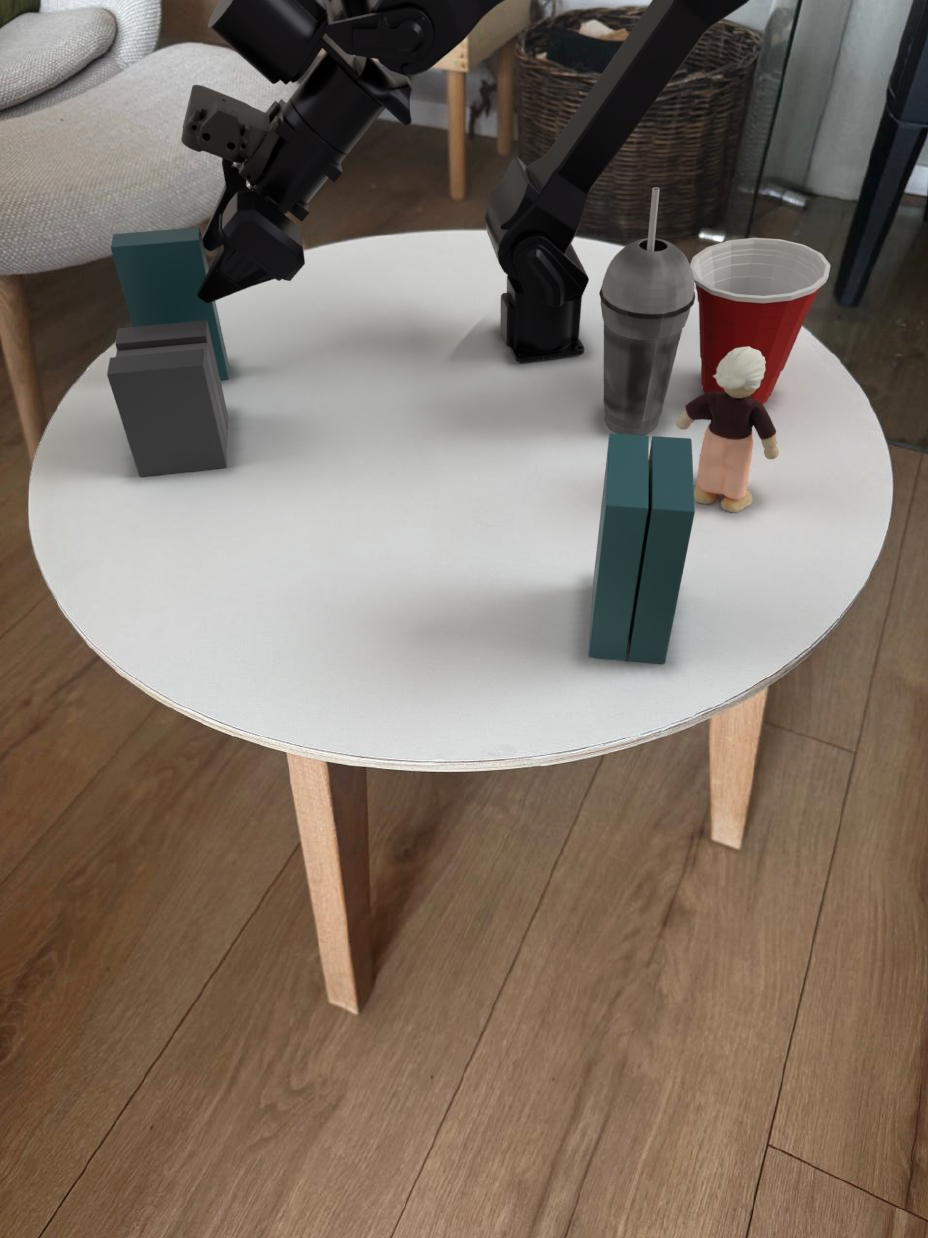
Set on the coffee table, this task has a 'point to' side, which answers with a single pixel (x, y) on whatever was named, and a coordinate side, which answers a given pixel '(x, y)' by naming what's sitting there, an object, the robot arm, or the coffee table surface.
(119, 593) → the coffee table surface
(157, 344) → the grey books
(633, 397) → the beverage cup
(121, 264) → the teal book
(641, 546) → the teal books
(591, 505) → the coffee table surface
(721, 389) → the plastic cup
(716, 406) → the grandmother figurine
